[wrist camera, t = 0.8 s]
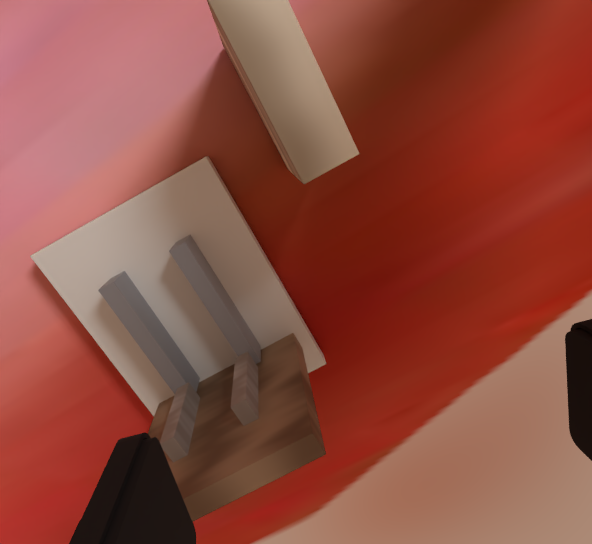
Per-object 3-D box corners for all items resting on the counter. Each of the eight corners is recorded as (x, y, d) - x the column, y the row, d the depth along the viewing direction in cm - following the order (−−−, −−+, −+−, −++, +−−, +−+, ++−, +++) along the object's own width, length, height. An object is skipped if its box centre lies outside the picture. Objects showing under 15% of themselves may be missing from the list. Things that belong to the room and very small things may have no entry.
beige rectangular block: (263, 23, 28) (266, -45, 18) (324, 148, 31) (359, 153, 21) (223, 46, 29) (204, -8, 18) (288, 169, 31) (303, 184, 21)
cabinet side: (283, 316, 33) (298, 411, 21) (302, 348, 34) (325, 454, 22) (148, 389, 34) (92, 517, 22) (169, 417, 35) (126, 554, 23)
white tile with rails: (208, 155, 31) (201, 158, 27) (323, 354, 36) (331, 380, 32) (40, 250, 31) (10, 265, 28) (177, 431, 37) (168, 464, 33)
